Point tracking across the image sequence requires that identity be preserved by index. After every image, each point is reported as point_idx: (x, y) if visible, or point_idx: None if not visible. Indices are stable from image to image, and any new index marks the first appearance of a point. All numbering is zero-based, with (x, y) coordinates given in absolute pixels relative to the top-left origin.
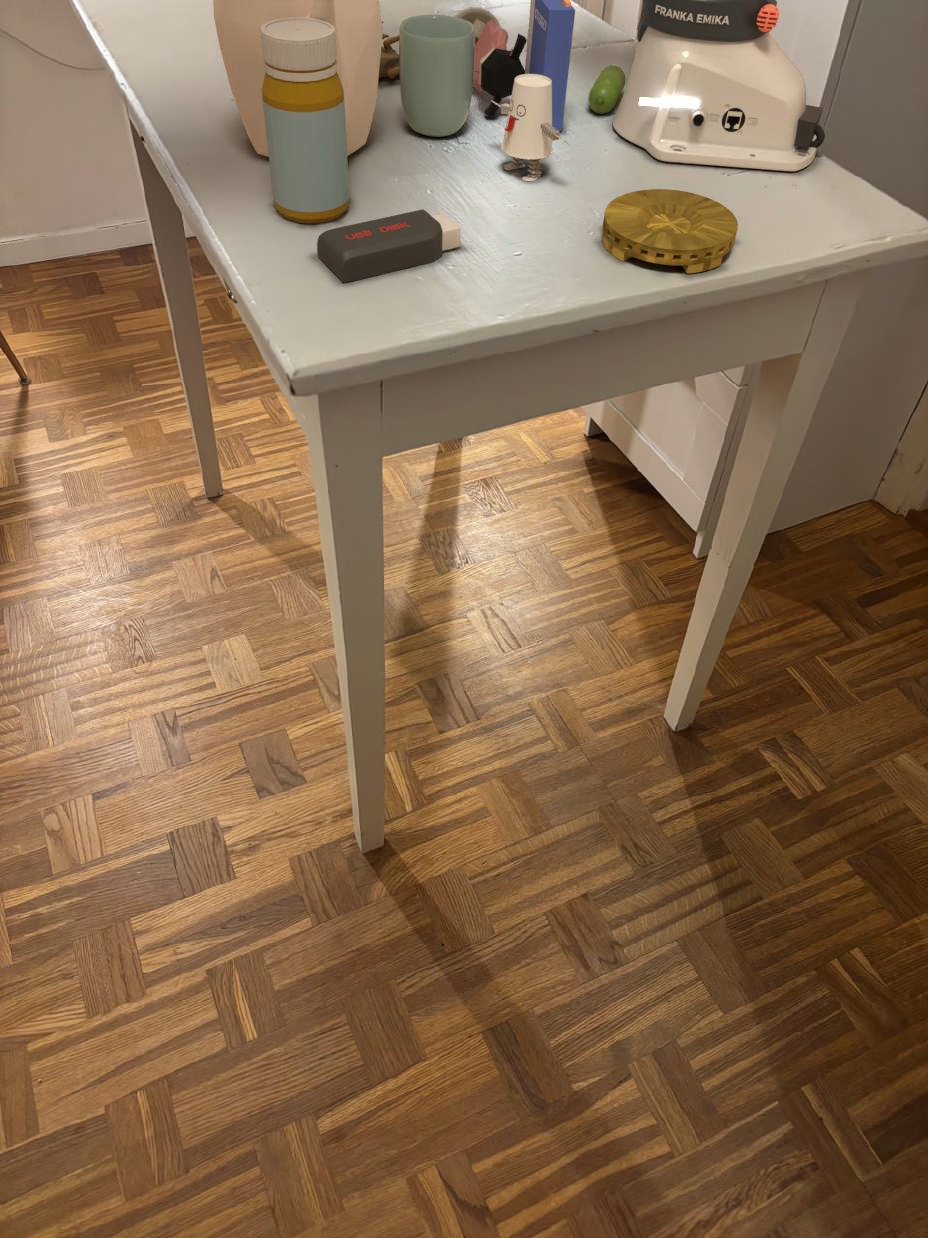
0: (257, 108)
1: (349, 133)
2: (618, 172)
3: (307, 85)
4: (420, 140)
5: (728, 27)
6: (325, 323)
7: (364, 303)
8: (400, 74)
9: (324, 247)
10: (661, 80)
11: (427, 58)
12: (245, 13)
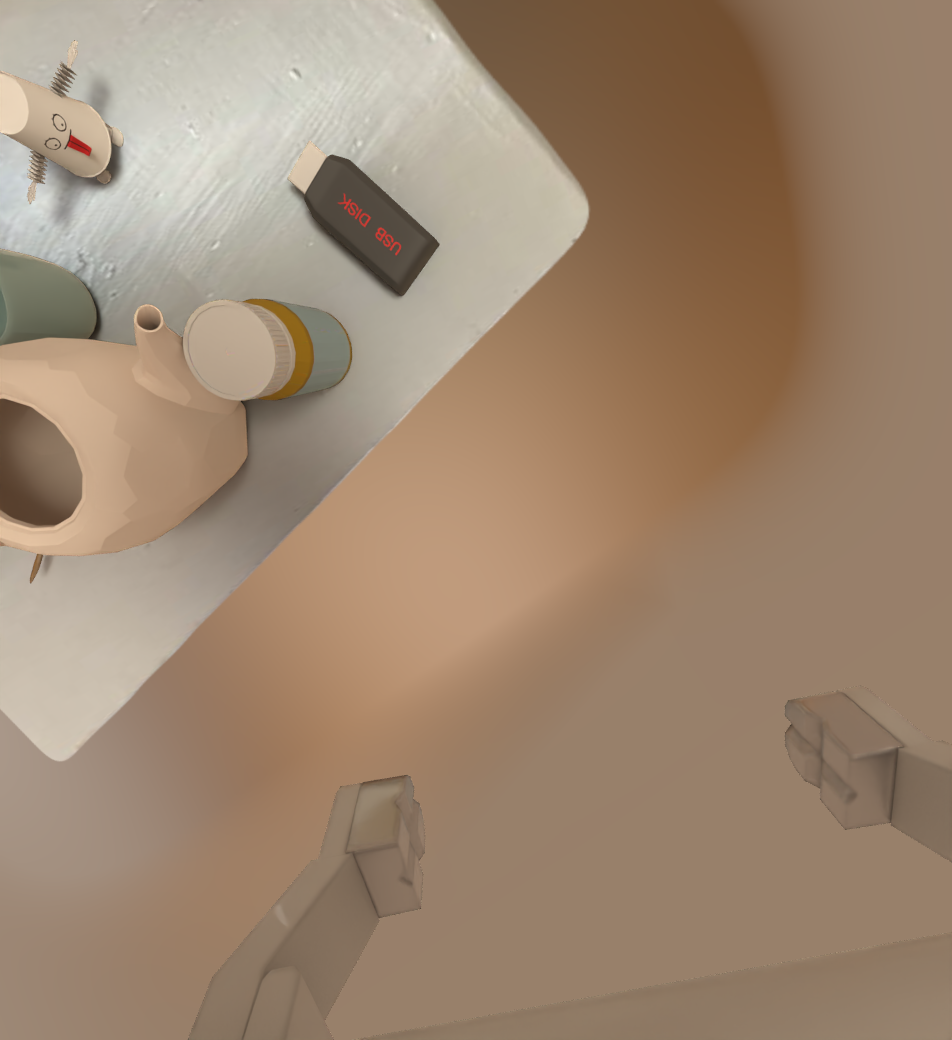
0: (233, 451)
1: None
2: (25, 17)
3: (285, 324)
4: (106, 313)
5: None
6: (514, 225)
7: (465, 204)
8: None
9: (410, 277)
10: None
11: (28, 293)
12: (179, 471)
